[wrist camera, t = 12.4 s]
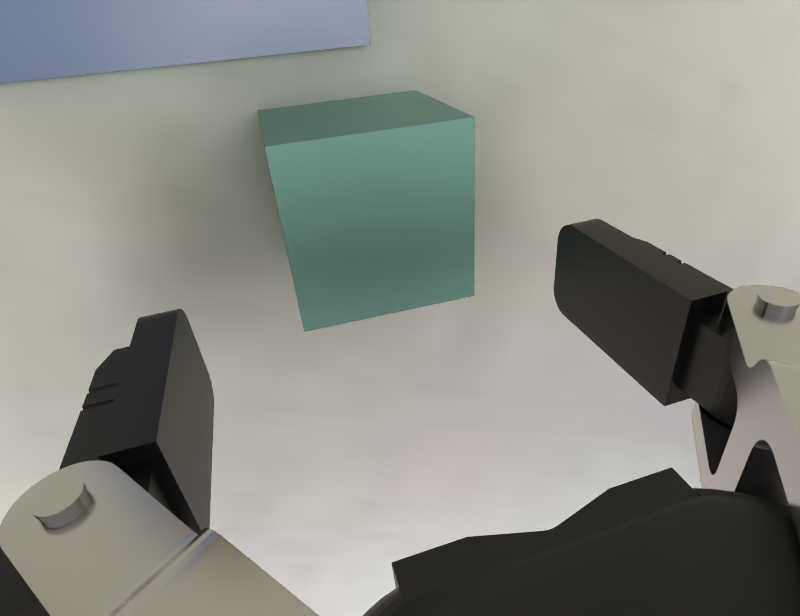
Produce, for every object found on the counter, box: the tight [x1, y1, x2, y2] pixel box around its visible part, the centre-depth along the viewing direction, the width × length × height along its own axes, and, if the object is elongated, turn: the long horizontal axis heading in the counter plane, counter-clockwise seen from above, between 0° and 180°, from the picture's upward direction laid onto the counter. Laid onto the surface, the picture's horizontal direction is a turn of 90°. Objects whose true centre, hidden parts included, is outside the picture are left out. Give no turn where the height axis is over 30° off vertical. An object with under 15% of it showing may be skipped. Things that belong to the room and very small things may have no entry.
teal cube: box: [258, 91, 474, 332], centre depth 15 cm, size 5×5×5 cm
